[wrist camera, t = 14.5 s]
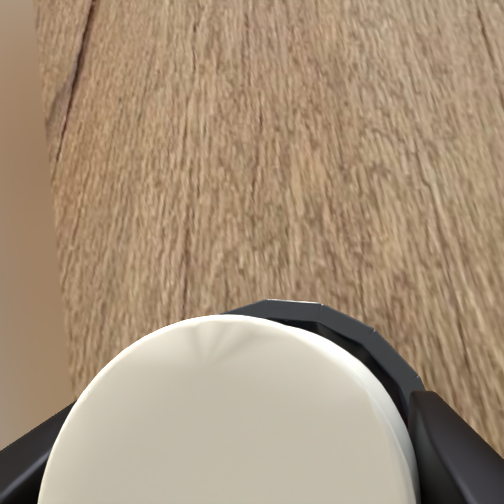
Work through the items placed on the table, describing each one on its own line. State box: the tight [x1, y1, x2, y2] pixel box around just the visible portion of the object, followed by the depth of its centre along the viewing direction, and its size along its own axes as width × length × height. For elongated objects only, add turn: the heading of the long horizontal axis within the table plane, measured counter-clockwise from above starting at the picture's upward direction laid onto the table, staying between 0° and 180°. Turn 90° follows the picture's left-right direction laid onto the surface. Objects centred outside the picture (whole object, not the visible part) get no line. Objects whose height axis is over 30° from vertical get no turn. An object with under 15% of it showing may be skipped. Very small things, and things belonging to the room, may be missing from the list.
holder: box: [218, 299, 426, 431], centre depth 13 cm, size 8×8×4 cm
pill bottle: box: [38, 315, 421, 504], centre depth 9 cm, size 6×6×10 cm
